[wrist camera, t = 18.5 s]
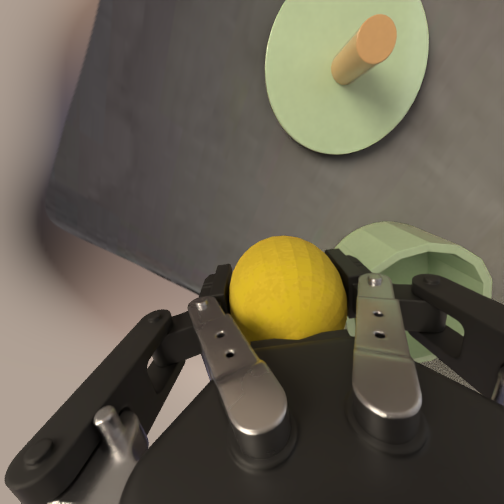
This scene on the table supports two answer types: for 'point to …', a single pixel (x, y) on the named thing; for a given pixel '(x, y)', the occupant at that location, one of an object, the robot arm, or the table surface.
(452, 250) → the pot
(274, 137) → the table surface
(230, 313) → the robot arm
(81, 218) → the table surface
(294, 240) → the lemon
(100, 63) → the table surface
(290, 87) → the lid
